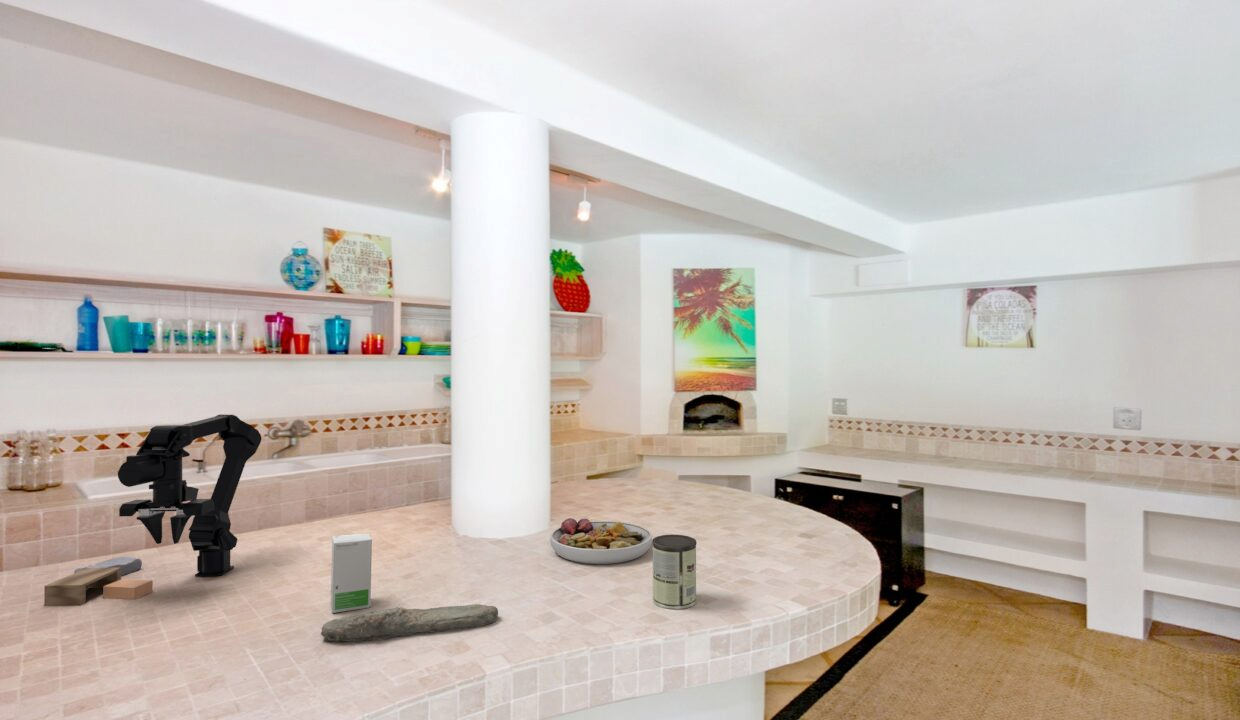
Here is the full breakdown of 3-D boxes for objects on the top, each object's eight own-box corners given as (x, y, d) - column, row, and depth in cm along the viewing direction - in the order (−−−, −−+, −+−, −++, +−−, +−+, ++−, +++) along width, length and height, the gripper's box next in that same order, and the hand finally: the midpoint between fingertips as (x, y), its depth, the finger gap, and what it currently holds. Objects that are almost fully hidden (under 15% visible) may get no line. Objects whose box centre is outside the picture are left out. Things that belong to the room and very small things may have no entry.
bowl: (670, 546, 186) (670, 520, 186) (616, 575, 161) (616, 545, 161) (589, 531, 202) (589, 507, 202) (528, 555, 177) (528, 528, 177)
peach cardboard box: (152, 592, 148) (152, 580, 148) (133, 600, 143) (134, 587, 143) (122, 591, 149) (122, 578, 149) (103, 599, 144) (103, 586, 144)
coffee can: (658, 590, 150) (658, 532, 150) (700, 595, 146) (700, 536, 146) (646, 606, 140) (646, 544, 140) (691, 612, 137) (691, 549, 137)
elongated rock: (499, 636, 128) (495, 619, 138) (501, 610, 129) (496, 595, 138) (315, 648, 118) (325, 629, 128) (317, 620, 119) (327, 603, 128)
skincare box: (331, 614, 135) (331, 543, 135) (330, 603, 141) (330, 536, 141) (372, 607, 139) (372, 538, 139) (369, 597, 145) (369, 531, 145)
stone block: (68, 589, 155) (100, 584, 153) (66, 570, 155) (97, 565, 153) (116, 575, 166) (145, 570, 164) (113, 557, 167) (143, 552, 165)
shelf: (121, 585, 152) (121, 567, 152) (81, 604, 140) (81, 585, 140) (87, 586, 152) (87, 567, 152) (44, 605, 140) (44, 585, 140)
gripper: (227, 471, 155) (227, 533, 155) (150, 472, 154) (150, 534, 154) (200, 480, 144) (200, 546, 144) (117, 481, 143) (117, 548, 143)
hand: (167, 543), depth 147 cm, fingers open, 4 cm apart
